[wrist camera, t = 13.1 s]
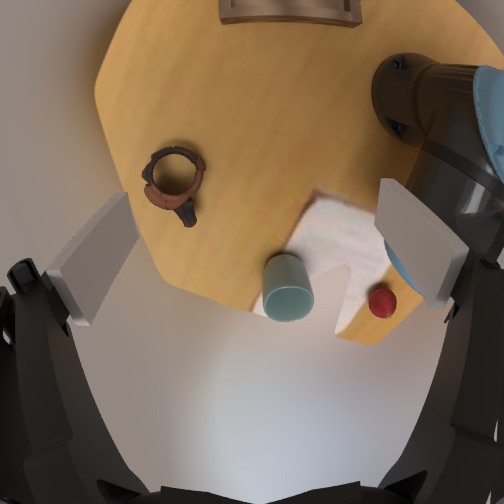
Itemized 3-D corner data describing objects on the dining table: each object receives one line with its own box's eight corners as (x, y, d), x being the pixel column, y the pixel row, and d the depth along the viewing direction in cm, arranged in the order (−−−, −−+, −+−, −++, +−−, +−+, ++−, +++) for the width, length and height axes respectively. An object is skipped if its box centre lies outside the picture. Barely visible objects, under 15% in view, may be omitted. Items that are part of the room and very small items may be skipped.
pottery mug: (135, 173, 39) (127, 163, 32) (186, 144, 41) (190, 128, 33) (171, 237, 42) (171, 242, 35) (221, 207, 44) (233, 205, 36)
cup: (299, 283, 51) (307, 323, 43) (258, 280, 51) (259, 321, 42) (308, 249, 47) (320, 287, 39) (264, 245, 46) (267, 284, 38)
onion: (388, 276, 51) (403, 303, 44) (389, 295, 54) (402, 322, 47) (363, 285, 52) (375, 313, 45) (365, 303, 55) (376, 331, 48)
